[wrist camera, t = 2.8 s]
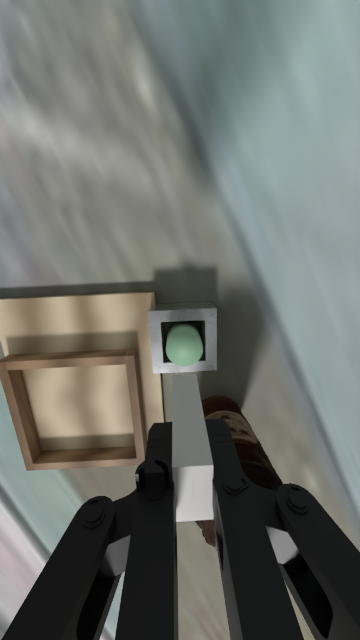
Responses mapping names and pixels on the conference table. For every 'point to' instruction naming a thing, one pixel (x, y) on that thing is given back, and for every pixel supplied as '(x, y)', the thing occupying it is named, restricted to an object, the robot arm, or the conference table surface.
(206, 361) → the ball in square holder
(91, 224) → the conference table surface
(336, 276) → the conference table surface
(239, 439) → the coffee cup
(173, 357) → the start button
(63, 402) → the tray
